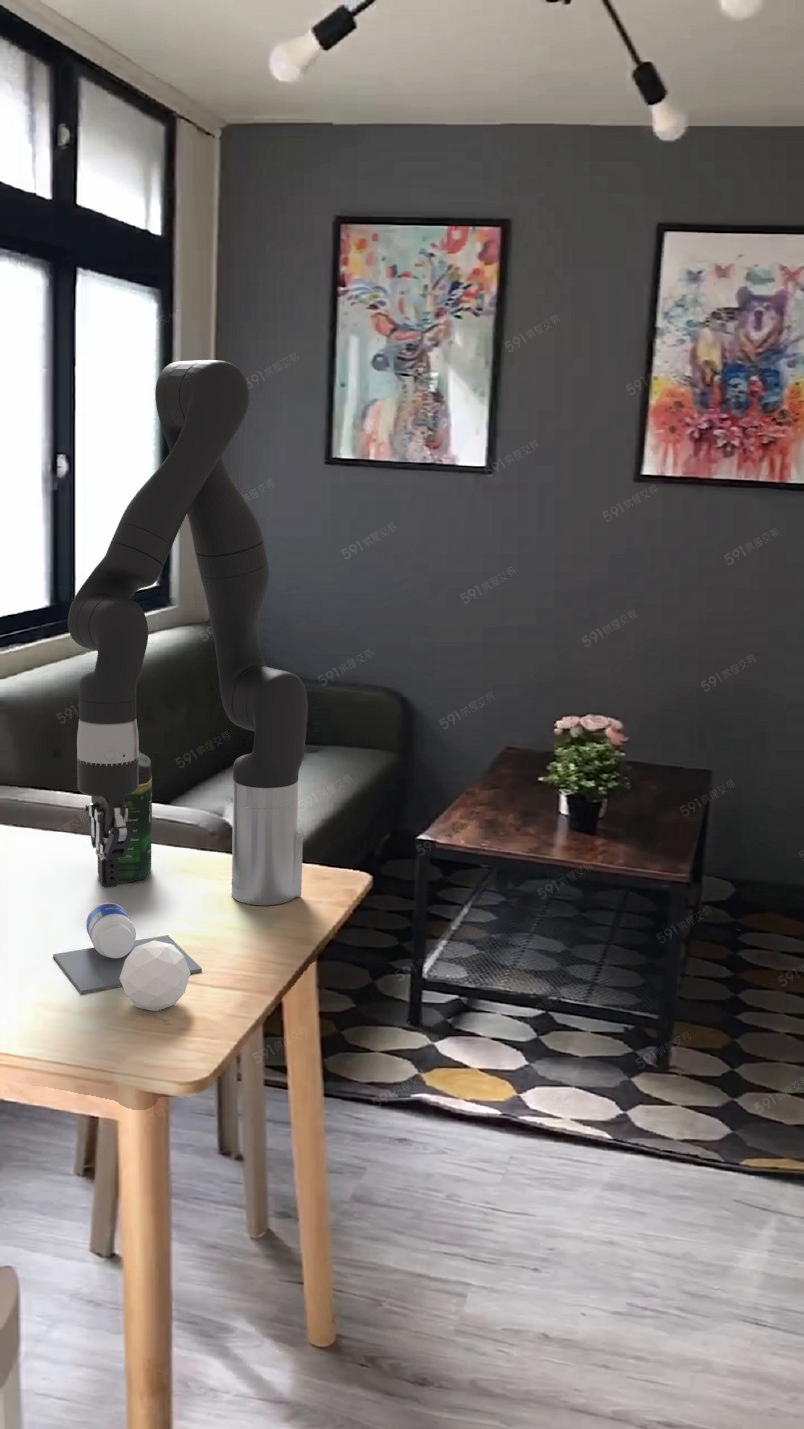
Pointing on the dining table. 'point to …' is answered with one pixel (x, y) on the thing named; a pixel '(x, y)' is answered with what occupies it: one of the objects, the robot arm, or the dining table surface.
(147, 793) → the coffee jar
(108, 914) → the pill bottle
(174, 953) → the geometric ball
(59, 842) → the dining table surface
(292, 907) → the dining table surface
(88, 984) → the mat
